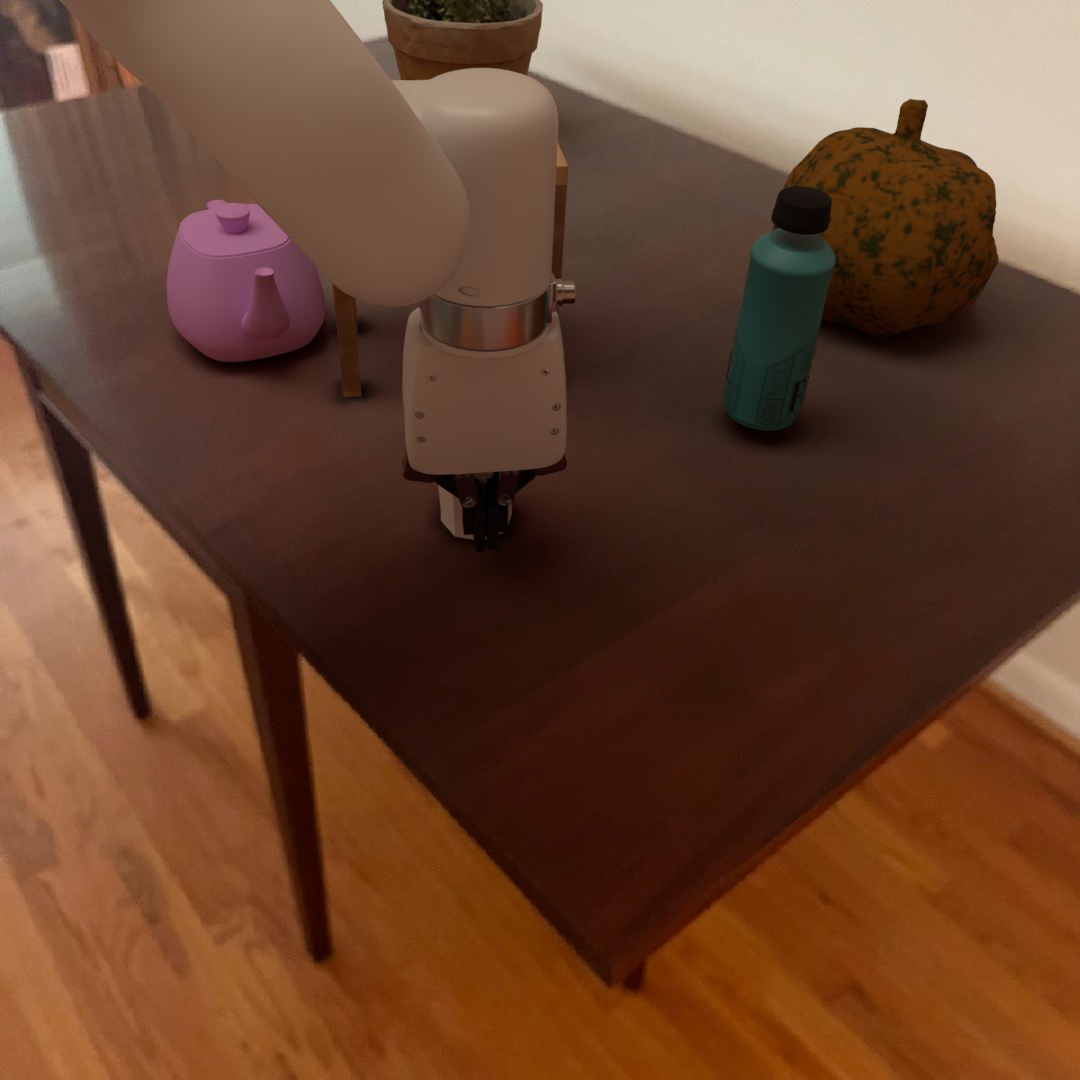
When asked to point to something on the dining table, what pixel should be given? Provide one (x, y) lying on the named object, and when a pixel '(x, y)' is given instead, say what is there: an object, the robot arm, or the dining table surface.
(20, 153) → the dining table surface
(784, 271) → the beverage bottle
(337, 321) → the desk
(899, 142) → the decorative pumpkin
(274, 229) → the teapot
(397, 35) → the potted plant
